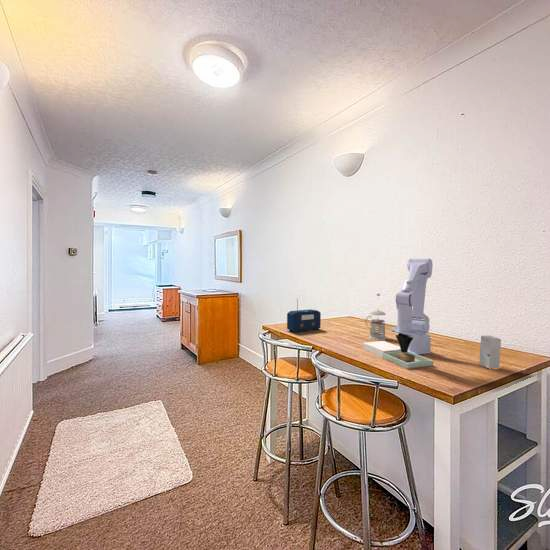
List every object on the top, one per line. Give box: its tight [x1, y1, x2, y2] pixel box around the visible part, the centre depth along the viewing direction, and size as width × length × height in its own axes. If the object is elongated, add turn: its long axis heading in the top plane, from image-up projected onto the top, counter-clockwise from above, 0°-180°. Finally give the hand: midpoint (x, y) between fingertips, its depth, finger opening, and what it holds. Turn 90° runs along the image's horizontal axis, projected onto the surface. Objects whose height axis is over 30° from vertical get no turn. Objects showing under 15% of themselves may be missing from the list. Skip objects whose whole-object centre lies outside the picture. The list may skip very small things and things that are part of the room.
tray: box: [381, 351, 434, 370], centre depth 127 cm, size 13×15×2 cm
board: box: [362, 340, 401, 358], centre depth 141 cm, size 12×15×3 cm
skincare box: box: [478, 335, 502, 369], centre depth 120 cm, size 6×4×12 cm
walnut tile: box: [397, 353, 415, 363], centre depth 127 cm, size 5×5×2 cm
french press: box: [365, 293, 388, 341], centre depth 170 cm, size 10×12×25 cm
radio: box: [286, 298, 322, 333], centre depth 189 cm, size 21×9×20 cm, turn 119°
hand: (404, 352), depth 128 cm, fingers closed
